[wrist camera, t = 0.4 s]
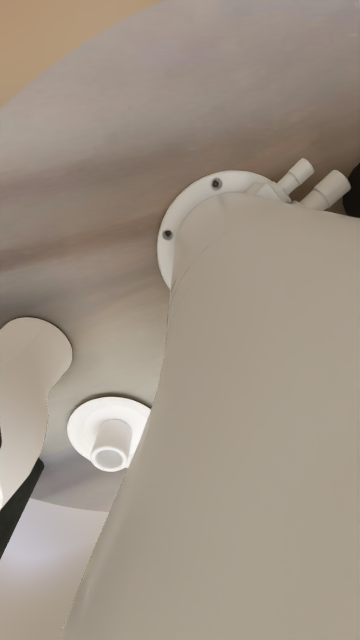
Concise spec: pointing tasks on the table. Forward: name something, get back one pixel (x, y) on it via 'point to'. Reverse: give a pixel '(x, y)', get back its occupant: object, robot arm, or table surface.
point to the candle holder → (108, 431)
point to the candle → (17, 505)
